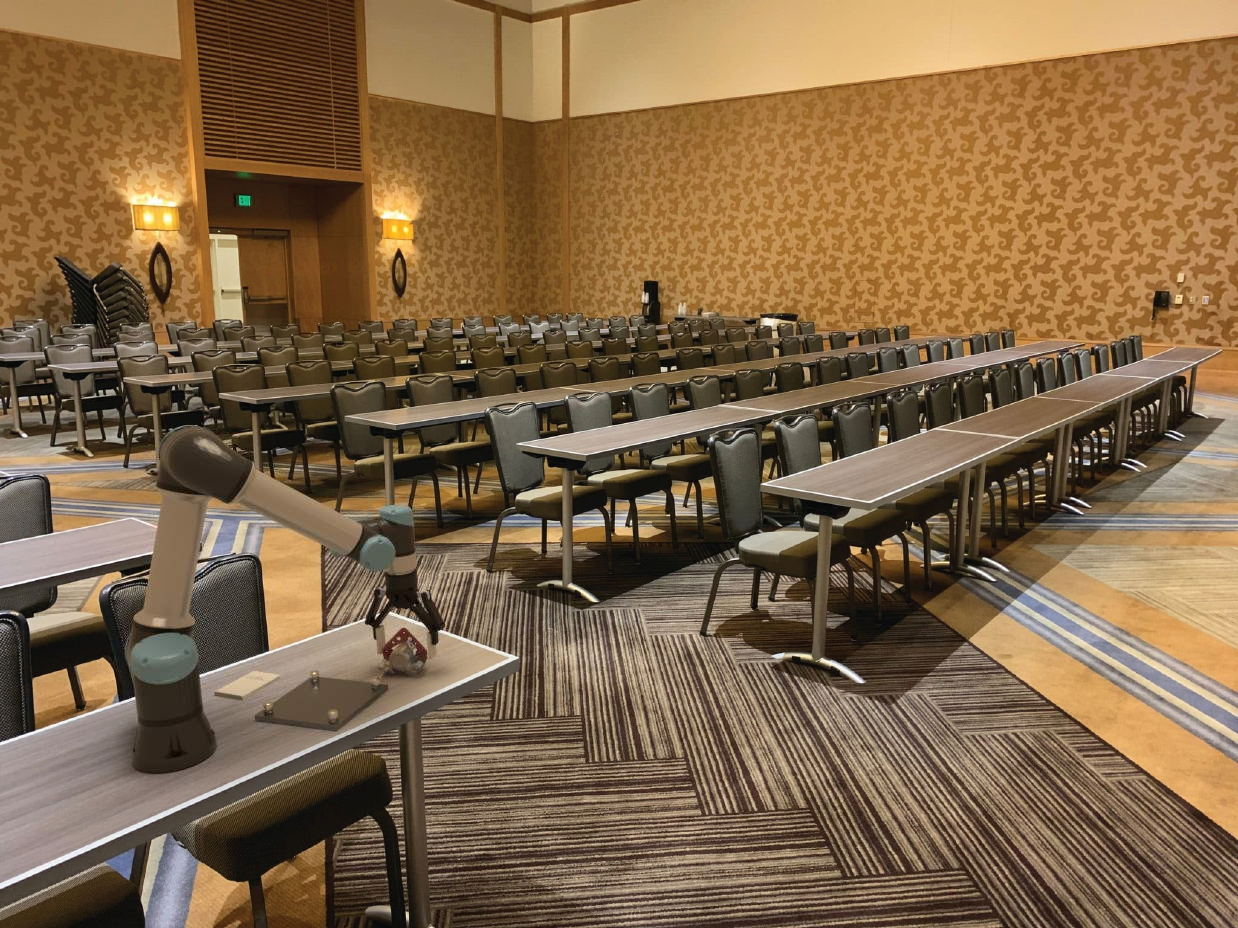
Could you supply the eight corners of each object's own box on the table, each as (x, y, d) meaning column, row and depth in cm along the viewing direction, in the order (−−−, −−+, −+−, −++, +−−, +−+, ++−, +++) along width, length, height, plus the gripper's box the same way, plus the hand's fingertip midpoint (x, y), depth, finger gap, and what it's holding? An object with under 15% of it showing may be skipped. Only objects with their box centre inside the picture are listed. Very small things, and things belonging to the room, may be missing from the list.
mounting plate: (255, 720, 195) (253, 706, 195) (313, 680, 215) (311, 667, 214) (336, 731, 190) (335, 716, 189) (388, 689, 210) (387, 676, 209)
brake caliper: (437, 651, 225) (425, 625, 216) (426, 691, 218) (413, 666, 209) (393, 650, 227) (379, 624, 218) (381, 690, 219) (366, 664, 211)
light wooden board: (214, 697, 208) (253, 676, 220) (242, 702, 205) (280, 680, 217) (213, 691, 208) (252, 669, 219) (242, 695, 205) (280, 674, 217)
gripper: (455, 568, 215) (461, 652, 219) (362, 562, 222) (369, 644, 226) (441, 578, 208) (447, 665, 212) (345, 571, 215) (352, 656, 219)
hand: (407, 654), depth 219 cm, fingers open, 13 cm apart
